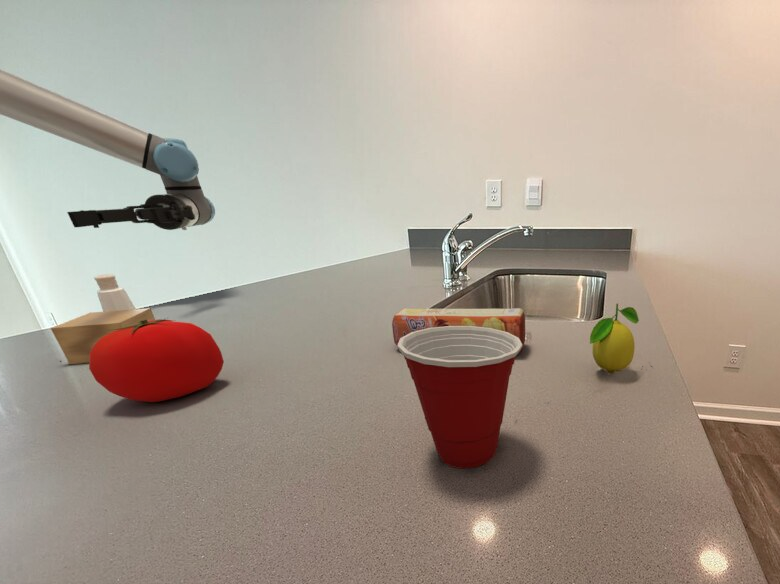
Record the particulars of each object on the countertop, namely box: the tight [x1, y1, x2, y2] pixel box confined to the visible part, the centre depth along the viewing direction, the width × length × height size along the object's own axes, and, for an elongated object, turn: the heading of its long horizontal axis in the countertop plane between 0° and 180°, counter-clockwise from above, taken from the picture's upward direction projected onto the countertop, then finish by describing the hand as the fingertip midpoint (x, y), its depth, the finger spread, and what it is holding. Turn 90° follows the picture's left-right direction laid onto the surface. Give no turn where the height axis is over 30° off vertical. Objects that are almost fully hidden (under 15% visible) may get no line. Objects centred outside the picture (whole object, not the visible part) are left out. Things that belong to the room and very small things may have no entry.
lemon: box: [589, 303, 640, 375], centre depth 55 cm, size 7×6×10 cm
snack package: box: [391, 307, 526, 354], centre depth 65 cm, size 21×7×7 cm, turn 79°
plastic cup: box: [396, 326, 523, 469], centre depth 38 cm, size 11×11×12 cm
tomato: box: [88, 317, 225, 403], centre depth 52 cm, size 11×13×10 cm
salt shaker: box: [93, 273, 137, 312], centre depth 75 cm, size 5×5×11 cm
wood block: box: [50, 307, 156, 365], centre depth 68 cm, size 9×9×6 cm
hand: (114, 217), depth 78 cm, fingers open, 13 cm apart
